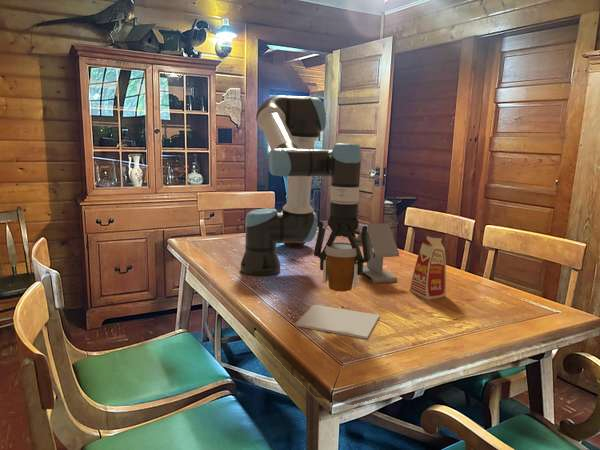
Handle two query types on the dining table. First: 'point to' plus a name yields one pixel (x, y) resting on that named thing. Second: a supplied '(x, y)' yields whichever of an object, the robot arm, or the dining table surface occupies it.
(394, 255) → the folded metal stand
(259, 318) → the dining table surface
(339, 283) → the disposable coffee cup
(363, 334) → the grey mat
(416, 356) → the dining table surface
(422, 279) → the milk carton
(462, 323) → the dining table surface
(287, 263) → the dining table surface
